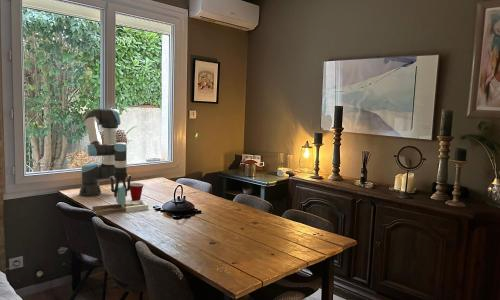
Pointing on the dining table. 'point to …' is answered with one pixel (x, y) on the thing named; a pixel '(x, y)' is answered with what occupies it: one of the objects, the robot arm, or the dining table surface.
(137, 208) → the tray
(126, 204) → the cube
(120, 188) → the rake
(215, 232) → the dining table surface
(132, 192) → the plastic cup
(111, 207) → the channel board
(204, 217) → the dining table surface
